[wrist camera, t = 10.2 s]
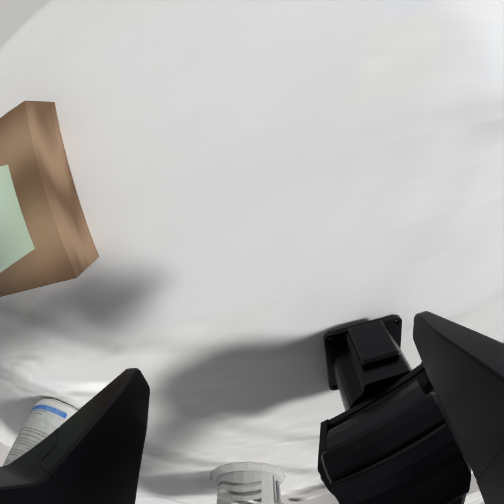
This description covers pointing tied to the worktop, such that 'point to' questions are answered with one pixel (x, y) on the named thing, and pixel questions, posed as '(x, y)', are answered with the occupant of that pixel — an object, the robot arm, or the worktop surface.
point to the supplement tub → (39, 426)
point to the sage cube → (11, 224)
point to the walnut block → (43, 200)
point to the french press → (248, 483)
